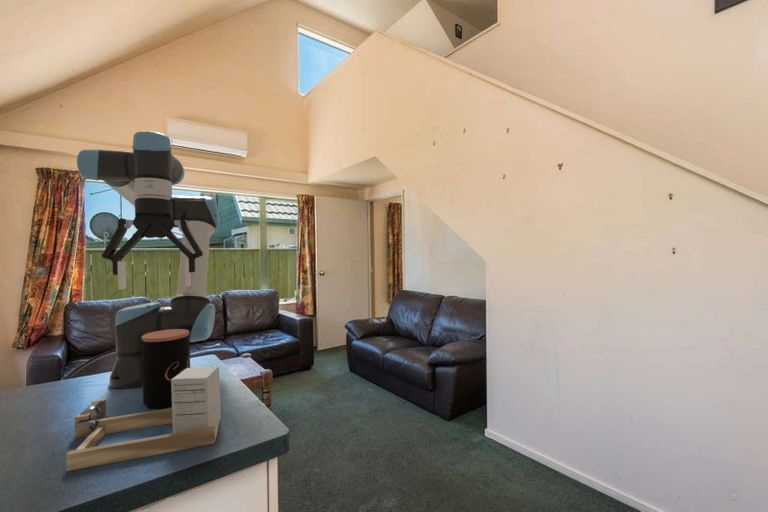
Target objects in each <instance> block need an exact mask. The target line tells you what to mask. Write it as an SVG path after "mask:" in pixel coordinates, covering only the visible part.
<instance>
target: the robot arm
mask: <svg viewBox="0 0 768 512" xmlns="http://www.w3.org/2000/svg"><path fill="white" fill-rule="evenodd" d="M132 140H133V141H132V146H131V147H132V151H123V150H109V149H107V150H106V149H99V148H97V149H82V150H80V151H79V152H78V153H77V157H76V166H77V169H78V173H79V174H80V175H81V177H82V178H84V179H86V180H89V181H90V180H91V181H103V182H104V183H105V184H107V186H108V187H110V188H112V189H113V190H114V191H115V192H117V193H118V194H119V195H120V196H121V197H122V198H124V199H125V200H126V201H128V202H129V203H130V204H131V205H132V206H133V207H134V218H133V220H132V219H127V218H123V217H122V218H121V217H120V218H119V219H118V223H117V228H116V230H115V232H114V233H113V234H112V237H111V239H110V240H109V242H108V244H107V246H106V247H105V249H104V251H103V253H102V254H101V257H102V258H103V259H106V260H110V261H111V262H112V274H113V276H117V289H118V290H119V291H121V290H126V289H127V263H126V260H123V259H124V257H126V255H127V254H128V253H130V251H131V250H132V249H134V247H135V246H136V245H137V244H138V243H139V242H140V241H142V240H143V238H146V239H154V238H157V239H164V238H168V239H169V241H171V242H172V243H173V244H174V246H175V247H176V248H178V249H179V250H180V260H179V268H178V278H177V287H176V288H177V289H176V295H174V297H172V298H170V303H169V305H168V306H162V304H161V302H160V301H157V302H155V301H154V302H149V303H141V304H136V305H131V306H128V307H123V308H122V309H119V310H118V311H117V312H116V313H115V321H114V322H115V324H114V329H115V330H114V331H115V351H116V352H115V354H116V356H115V358H116V359H115V361H114V364H113V367H112V370H111V373H110V376H109V387H110V388H112V389H121V390H122V389H134V388H139V387H140V388H141V387H143V376H142V345H143V344H144V342H143V341H142V336H143V335H144V334H147V333H151V332H155V331H161V330H169V329H186V330H189V335H188V336H187V338H188V339H189V341H190V343H195V342H200V341H206V340H207V339H209V338H210V336H211V335H212V333H213V329H214V326H215V320H216V318H215V317H216V306H215V304H214V303H211V299H210V298H209V297H208V296H207V284H208V267H209V266H208V265H209V256H210V255H209V254H210V253H209V252H210V238H211V236H212V235H214V234H215V232H216V231H215V230H216V229H219V228H220V227H221V219H220V214H219V207H218V203H217V200H216V199H215V197H212V196H205V195H202V196H198V195H197V196H194V195H193V196H190V195H173V186H175V185H178V184H180V183H181V182H182V181H183V179H184V177H185V168H184V166H183V164H182V163H181V162H180V160H179V159H178V158H177V157H175V156H174V155H173V154H172V150H173V149H172V145H171V139H170V137H169V136H168V135H165V134H164V133H160V132H157V131H149V130H148V131H147V130H140V131H137V132H135V133H134V134H133V138H132ZM132 226H134V228H135V229H136V231H135V232H134V233H133V234H132V236H131V237H130V238H129V239H128V240H127V241H126V242H125V243H124V245H123V246H121V247H120V248H119V249H118V247H119V245H120V244H121V243H122V240H123V239H124V237H125V235H126V233H127V231H128V230H129V229H131V227H132ZM173 228H176V229H177V228H178V230H179V232H180V233H181V234H182V240H180V239H179V238H178V237H177V236H176V235H175V233H173V232H172V230H173ZM117 249H118V250H117Z"/></svg>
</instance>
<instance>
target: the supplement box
mask: <svg viewBox="0 0 768 512" xmlns="http://www.w3.org/2000/svg"><path fill="white" fill-rule="evenodd" d="M220 387H221V385H220V366H201V367H190V368H186V369H185V370H184V371H182V372H181V373H180V374H178V375H177V376H175V377H174V378H173V379H171V392H172V407H171V408H172V423H171V424H172V433H178V432H184V431H190V430H196V429H202V428H208V427H213V426H215V427H216V425H217V424H218V423H219V424H220V421H221V420H222V417H221V416H222V413H221V411H222V409H221V410H220V401H221V388H220Z"/></svg>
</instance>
